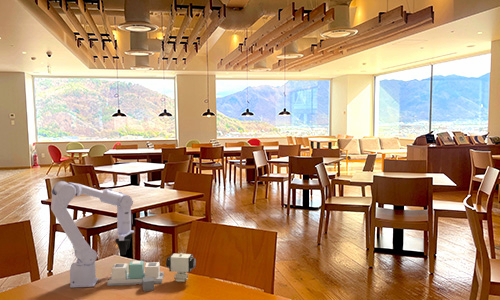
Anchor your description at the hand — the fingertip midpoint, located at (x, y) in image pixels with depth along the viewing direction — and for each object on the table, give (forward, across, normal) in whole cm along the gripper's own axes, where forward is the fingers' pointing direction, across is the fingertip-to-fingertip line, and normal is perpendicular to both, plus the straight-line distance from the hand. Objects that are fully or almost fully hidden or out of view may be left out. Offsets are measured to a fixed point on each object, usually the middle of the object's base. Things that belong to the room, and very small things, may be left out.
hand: (124, 251), depth 176 cm
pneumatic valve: (+10, -10, -25) cm, 29 cm away
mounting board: (+10, -8, -6) cm, 14 cm away
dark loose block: (+10, -17, -12) cm, 23 cm away
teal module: (+9, -8, -6) cm, 14 cm away
